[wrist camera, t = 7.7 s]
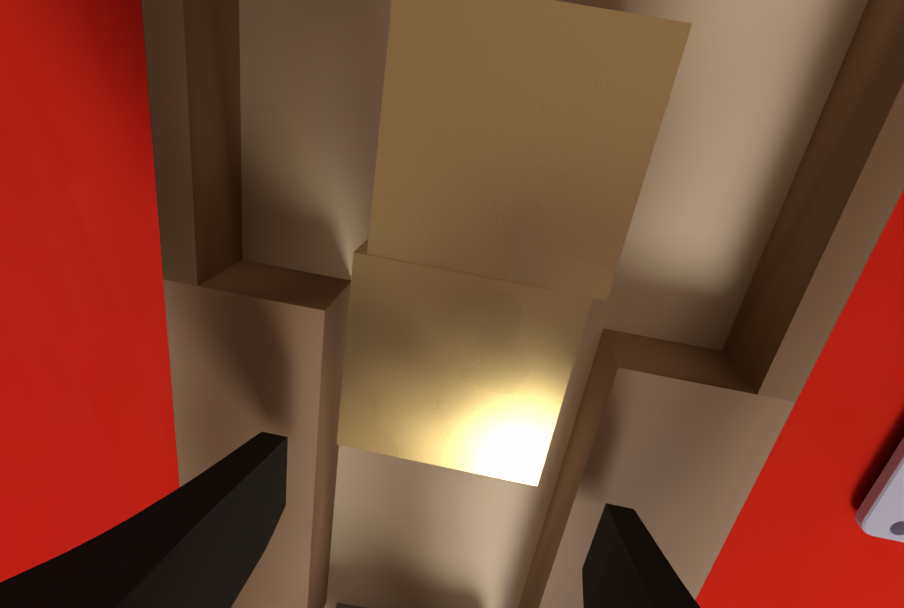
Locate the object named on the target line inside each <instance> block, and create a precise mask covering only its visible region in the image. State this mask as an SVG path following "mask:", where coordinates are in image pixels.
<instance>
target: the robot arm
mask: <svg viewBox="0 0 904 608" xmlns="http://www.w3.org/2000/svg"><path fill="white" fill-rule="evenodd" d="M287 448H288V437H286V436H281V435H276V434H271V433H266V432H261V433H259V434H257V435H256V436H254V437H253V438H251V439H250V440H248V441H247V442H246V443H244V444H243V445H241V446H240V447H238V448H237V449H236V450H234V451H233V452H231V453H230V454H228V455H227V456H226V457H224V458H223V459H221V460H220V461H218V462H217V463H215V464H214V465H212V466H211V467H210V468H208V469H207V470H205V471H204V472H202V473H201V474H199V475H198V476H196V477H195V478H193V479H192V480H190V481H189V482H187V483H186V484H184V485H183V486H181V487H180V488H178V489H177V490H175V491H173V492H172V493H170V494H169V495H167V496H165V497H164V498H162V499H161V500H159V501H157V502H156V503H154V504H152V505H151V506H149V507H147V508H146V509H144V510H142V511H141V512H139V513H138V514H136V515H134V516H133V517H131V518H129V519H128V520H126V521H124V522H122V523H121V524H119V525H117V526H115V527H113V528H112V529H110V530H108V531H106V532H104V533H103V534H101V535H99V536H97V537H95V538H93V539H91V540H89V541H87V542H85V543H83V544H81V545H79V546H78V547H76V548H74V549H72V550H70V551H68V552H66V553H64V554H62V555H60V556H58V557H55V558H53V559H51V560H49V561H47V562H44V563H42V564H40V565H38V566H36V567H33V568H31V569H29V570H27V571H25V572H23V573H20V574H18V575H16V576H14V577H12V578H9V579H7V580H5V581H3V582H1V583H0V608H231V607H232V605H233V604H234V602H235V600H236V599H237V597H238V595H239V594H240V592H241V590H242V589H243V587H244V585H245V584H246V582H247V580H248V579H249V577H250V575H251V574H252V572H253V570H254V568H255V567H256V565H257V563H258V562H259V560H260V558H261V557H262V555H263V553H264V551H265V550H266V548H267V546H268V544H269V541H270V539H271V537H272V535H273V533H274V531H275V529H276V526H277V524H278V522H279V519H280V517H281V515H282V513H283V510H284V508H285V506H286V481H287ZM855 519H856V522H857V523H858V525H859V526H860V527H861V528H862V530H863V531H864V532H865V533H866V534H869V535H871V536H875V537H880V538H885V539H890V540H895V541H899V542H904V438H903V439H902V441H901V442H900V444H899V445H898V447H897V449H896V450H895V452H894V453H893V455H892V457H891V458H890V460H889V461H888V463H887V465H886V466H885V468H884V469H883V471H882V472H881V474H880V476H879V477H878V479H877V480H876V482H875V484H874V485H873V487H872V488H871V490H870V491H869V493H868V495H867V496H866V498H865V499H864V501H863V503H862V504H861V506H860V507H859V509H858V511H857V513H856V515H855ZM896 522H897V523H896ZM582 584H583V605H584V608H700V607H699V605H698V604H697V602H696V601H695V600H694V598H693V597H692V595H691V594H690V592H689V591H688V590H687V588H686V587H685V585H684V584H683V582H682V581H681V579H680V578H679V576H678V575H677V574H676V572H675V571H674V569H673V568H672V566H671V565H670V563H669V562H668V560H667V559H666V557H665V556H664V554H663V552H662V551H661V549H660V548H659V546H658V545H657V543H656V542H655V540H654V539H653V537H652V536H651V534H650V533H649V531H648V530H647V528H646V526H645V525H644V523H643V522H642V520H641V519H640V517H639V516H638V514H637V513H636V511H635V510H634V509H632V508H627V507H622V506H617V505H613V504H608V503H606V504H605V507H604V510H603V512H602V515H601V518H600V521H599V524H598V526H597V529H596V532H595V535H594V537H593V540H592V543H591V546H590V548H589V551H588V554H587V557H586V559H585V562H584V565H583V568H582Z"/></svg>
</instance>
